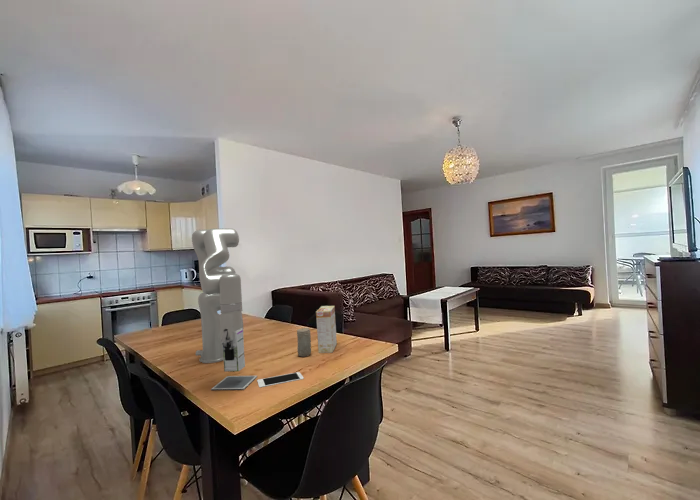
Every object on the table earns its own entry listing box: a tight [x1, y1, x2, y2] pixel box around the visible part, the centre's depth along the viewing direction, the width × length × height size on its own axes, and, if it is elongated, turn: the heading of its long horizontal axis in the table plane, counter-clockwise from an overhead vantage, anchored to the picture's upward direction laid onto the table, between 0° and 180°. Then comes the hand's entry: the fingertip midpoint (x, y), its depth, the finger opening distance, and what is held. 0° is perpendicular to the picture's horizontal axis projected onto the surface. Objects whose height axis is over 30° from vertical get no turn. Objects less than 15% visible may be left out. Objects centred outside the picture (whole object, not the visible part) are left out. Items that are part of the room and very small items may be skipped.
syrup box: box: [223, 327, 246, 373], centre depth 120 cm, size 6×6×14 cm
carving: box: [296, 327, 312, 358], centre depth 150 cm, size 6×8×12 cm
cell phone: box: [256, 371, 305, 389], centre depth 121 cm, size 8×16×1 cm, turn 112°
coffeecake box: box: [315, 305, 338, 354], centre depth 159 cm, size 15×7×20 cm, turn 174°
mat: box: [210, 375, 258, 391], centre depth 120 cm, size 12×12×1 cm
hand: (234, 356), depth 120 cm, fingers closed on syrup box, 5 cm apart
